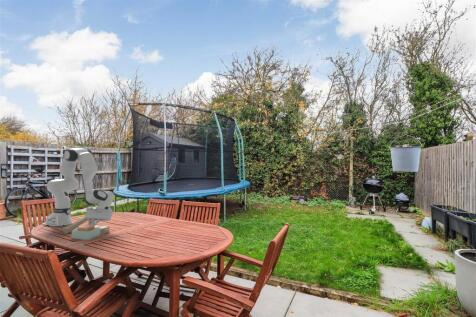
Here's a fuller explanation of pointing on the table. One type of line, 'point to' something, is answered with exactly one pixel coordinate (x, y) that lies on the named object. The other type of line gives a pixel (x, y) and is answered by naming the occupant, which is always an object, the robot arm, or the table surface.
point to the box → (85, 234)
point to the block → (86, 228)
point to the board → (102, 229)
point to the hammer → (77, 223)
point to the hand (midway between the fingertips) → (93, 224)
